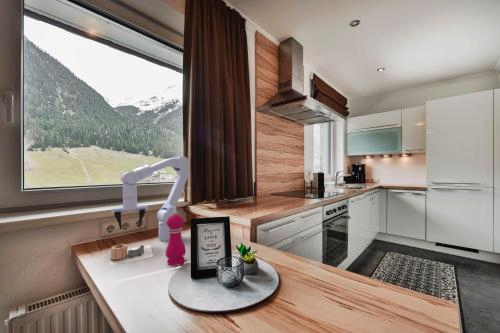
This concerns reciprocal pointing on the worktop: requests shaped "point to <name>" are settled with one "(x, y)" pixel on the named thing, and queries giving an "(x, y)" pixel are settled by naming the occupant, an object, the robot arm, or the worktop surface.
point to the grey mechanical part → (136, 252)
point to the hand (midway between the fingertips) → (130, 227)
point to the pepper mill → (175, 241)
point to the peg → (119, 259)
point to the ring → (119, 252)
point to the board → (144, 255)
